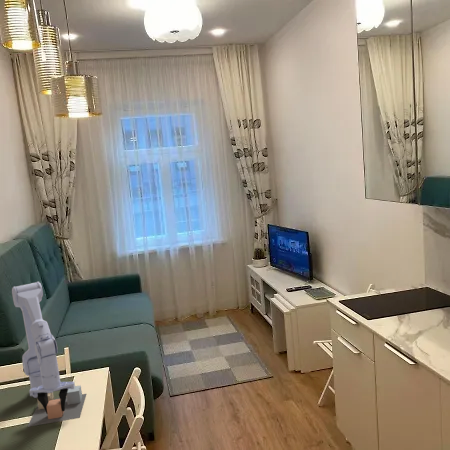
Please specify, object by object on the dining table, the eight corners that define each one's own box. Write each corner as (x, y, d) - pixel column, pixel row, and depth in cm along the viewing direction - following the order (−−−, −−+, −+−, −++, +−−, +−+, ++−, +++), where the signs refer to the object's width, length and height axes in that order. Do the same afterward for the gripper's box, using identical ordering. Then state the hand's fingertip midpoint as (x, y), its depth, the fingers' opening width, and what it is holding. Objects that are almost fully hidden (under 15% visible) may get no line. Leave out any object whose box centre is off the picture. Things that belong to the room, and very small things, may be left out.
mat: (39, 402, 177) (39, 401, 177) (86, 394, 179) (86, 393, 179) (27, 428, 159) (27, 426, 159) (79, 419, 162) (79, 417, 162)
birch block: (41, 403, 175) (39, 392, 174) (54, 401, 176) (52, 389, 175) (38, 409, 170) (36, 397, 170) (51, 407, 171) (50, 395, 171)
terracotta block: (51, 412, 167) (49, 400, 167) (64, 410, 168) (62, 398, 167) (48, 419, 163) (46, 406, 162) (62, 416, 163) (60, 404, 163)
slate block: (69, 399, 176) (68, 387, 176) (82, 396, 177) (80, 385, 176) (67, 404, 172) (66, 392, 171) (80, 402, 173) (78, 390, 172)
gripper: (24, 382, 159) (31, 420, 160) (70, 375, 161) (75, 413, 162) (30, 373, 166) (36, 410, 167) (73, 366, 168) (78, 403, 169)
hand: (55, 411), depth 165 cm, fingers closed on terracotta block, 4 cm apart
